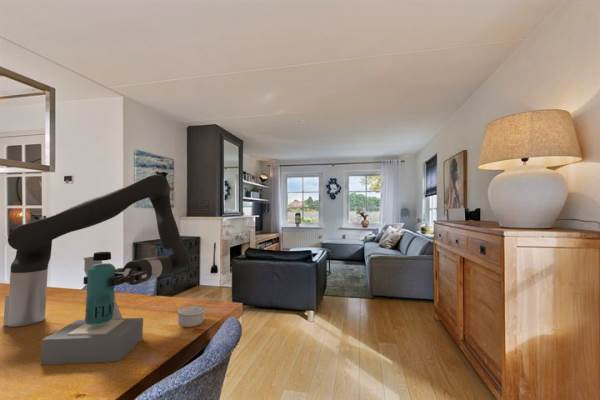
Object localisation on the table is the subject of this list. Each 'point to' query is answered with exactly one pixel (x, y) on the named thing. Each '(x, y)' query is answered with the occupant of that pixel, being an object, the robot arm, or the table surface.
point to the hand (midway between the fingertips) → (96, 281)
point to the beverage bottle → (100, 291)
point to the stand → (92, 341)
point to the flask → (116, 309)
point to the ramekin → (191, 316)
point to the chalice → (89, 265)
